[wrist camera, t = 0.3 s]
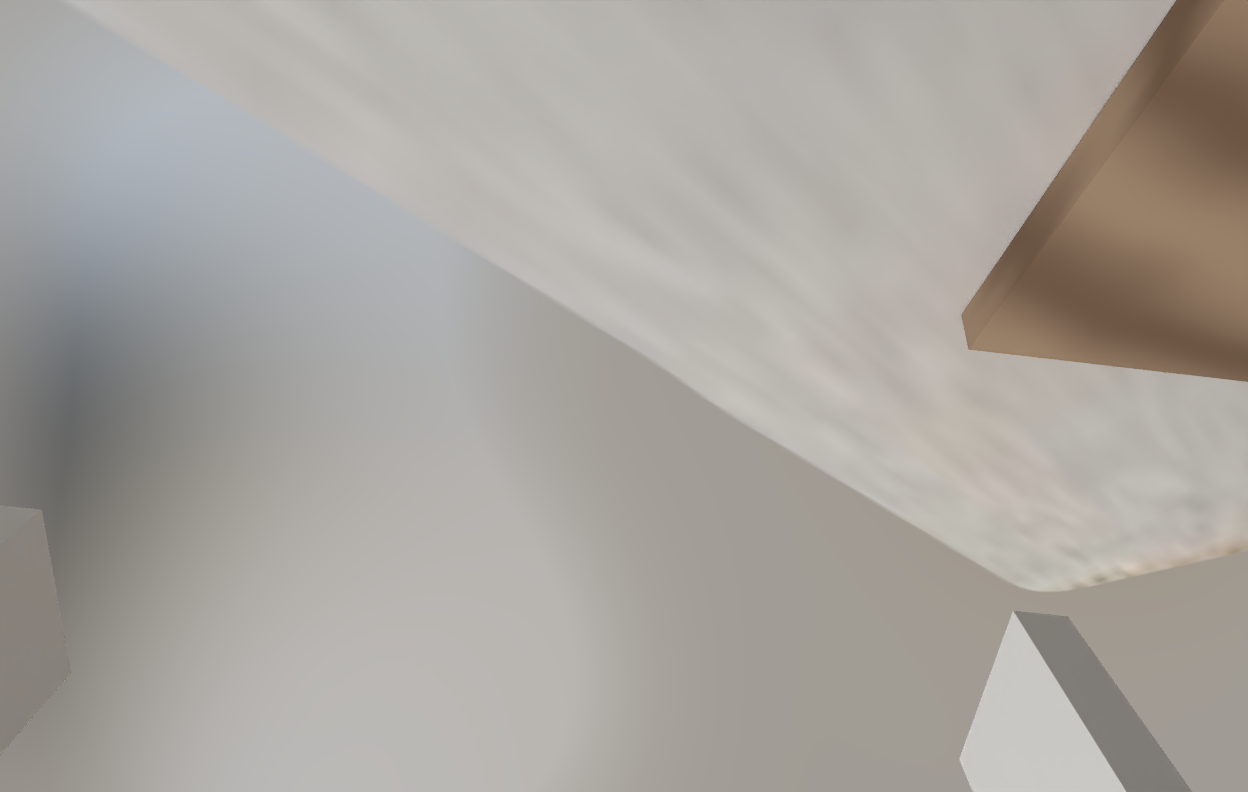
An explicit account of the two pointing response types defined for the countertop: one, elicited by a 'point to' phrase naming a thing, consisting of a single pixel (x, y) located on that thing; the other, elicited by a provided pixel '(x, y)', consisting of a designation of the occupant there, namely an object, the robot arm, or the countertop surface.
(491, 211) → the countertop surface
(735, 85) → the countertop surface
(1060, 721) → the robot arm
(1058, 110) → the countertop surface
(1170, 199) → the walnut board
